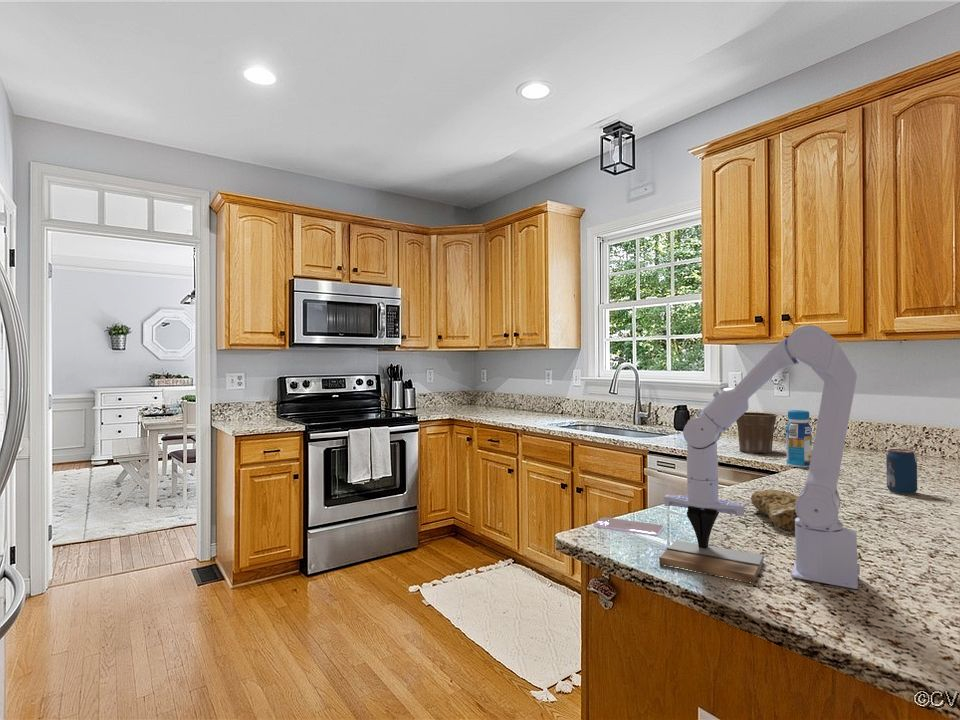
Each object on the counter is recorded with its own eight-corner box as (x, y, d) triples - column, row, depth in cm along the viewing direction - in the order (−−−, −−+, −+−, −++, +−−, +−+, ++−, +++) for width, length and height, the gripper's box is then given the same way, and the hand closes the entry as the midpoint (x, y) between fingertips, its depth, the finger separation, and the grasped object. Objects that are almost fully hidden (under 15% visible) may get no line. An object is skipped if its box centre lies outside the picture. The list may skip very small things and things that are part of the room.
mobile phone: (657, 533, 118) (591, 523, 125) (657, 538, 118) (591, 528, 125) (665, 524, 124) (602, 515, 132) (665, 528, 124) (602, 519, 132)
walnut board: (758, 573, 96) (758, 563, 96) (754, 584, 92) (754, 574, 92) (667, 556, 105) (667, 547, 105) (659, 565, 101) (659, 556, 101)
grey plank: (763, 562, 101) (763, 554, 102) (759, 572, 97) (759, 564, 97) (676, 547, 111) (676, 540, 111) (668, 555, 106) (668, 548, 106)
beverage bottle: (782, 463, 200) (781, 409, 201) (806, 463, 199) (805, 409, 199) (792, 467, 192) (791, 411, 192) (817, 468, 191) (816, 411, 191)
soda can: (921, 492, 154) (920, 450, 154) (912, 496, 150) (911, 453, 150) (892, 488, 159) (891, 447, 160) (882, 491, 156) (882, 450, 156)
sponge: (825, 541, 117) (810, 501, 135) (818, 507, 116) (804, 472, 134) (758, 544, 123) (752, 505, 141) (751, 512, 122) (746, 477, 140)
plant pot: (782, 451, 228) (782, 413, 228) (771, 456, 216) (770, 416, 217) (742, 447, 239) (741, 411, 240) (729, 452, 228) (728, 413, 228)
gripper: (746, 478, 106) (747, 547, 106) (670, 470, 114) (671, 534, 114) (740, 485, 100) (741, 558, 100) (660, 476, 108) (661, 544, 108)
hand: (703, 546), depth 106 cm, fingers closed
